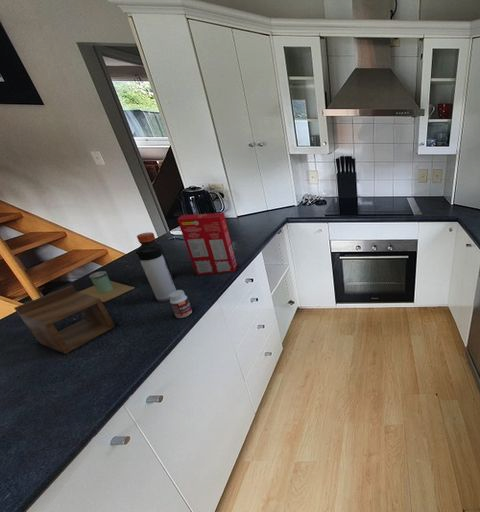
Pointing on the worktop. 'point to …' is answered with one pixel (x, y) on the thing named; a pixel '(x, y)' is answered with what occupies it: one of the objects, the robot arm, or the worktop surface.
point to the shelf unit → (59, 307)
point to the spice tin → (101, 282)
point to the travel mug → (156, 272)
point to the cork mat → (109, 295)
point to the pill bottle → (180, 303)
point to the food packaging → (208, 243)
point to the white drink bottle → (151, 245)
